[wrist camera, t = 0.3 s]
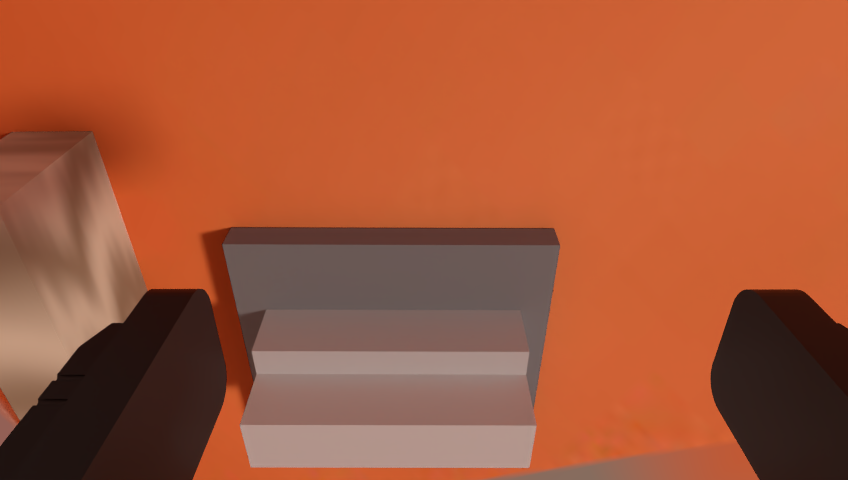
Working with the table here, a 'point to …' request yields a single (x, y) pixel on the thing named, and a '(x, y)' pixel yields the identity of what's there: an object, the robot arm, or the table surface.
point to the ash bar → (57, 258)
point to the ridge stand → (392, 344)
